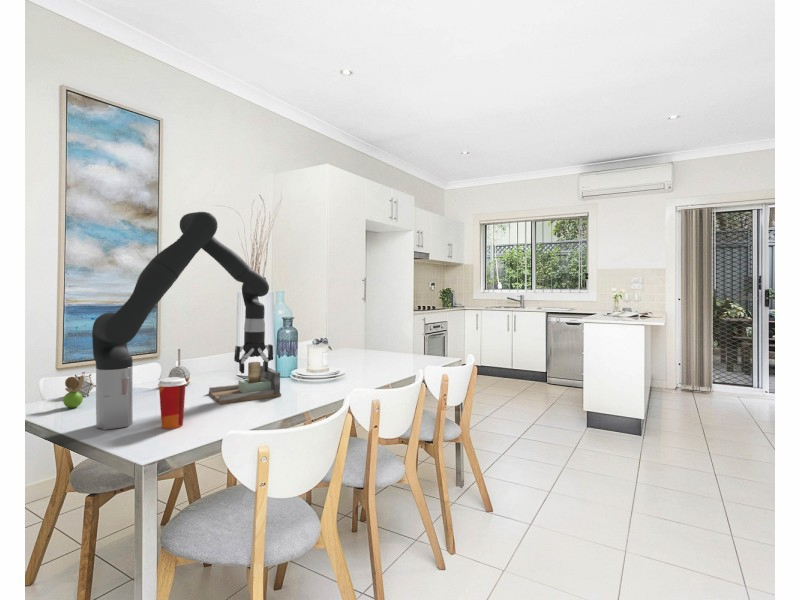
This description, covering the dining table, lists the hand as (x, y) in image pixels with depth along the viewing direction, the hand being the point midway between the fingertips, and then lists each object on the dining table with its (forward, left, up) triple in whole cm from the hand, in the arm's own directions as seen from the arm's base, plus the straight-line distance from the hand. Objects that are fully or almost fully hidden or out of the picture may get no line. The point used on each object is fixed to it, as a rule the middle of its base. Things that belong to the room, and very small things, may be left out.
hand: (253, 372), depth 177 cm
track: (0, +3, -8) cm, 9 cm away
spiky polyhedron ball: (+28, +54, -9) cm, 62 cm away
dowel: (0, 0, -6) cm, 6 cm away
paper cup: (-27, +32, -9) cm, 43 cm away
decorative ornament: (+30, +21, -9) cm, 38 cm away
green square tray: (0, 0, -7) cm, 7 cm away
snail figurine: (+11, +56, -9) cm, 58 cm away
